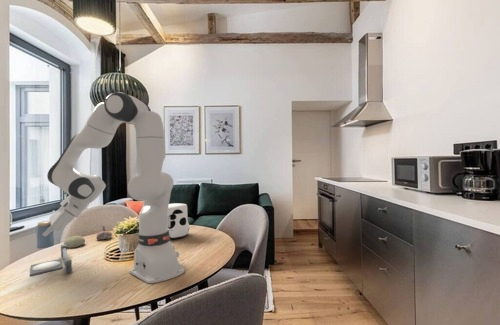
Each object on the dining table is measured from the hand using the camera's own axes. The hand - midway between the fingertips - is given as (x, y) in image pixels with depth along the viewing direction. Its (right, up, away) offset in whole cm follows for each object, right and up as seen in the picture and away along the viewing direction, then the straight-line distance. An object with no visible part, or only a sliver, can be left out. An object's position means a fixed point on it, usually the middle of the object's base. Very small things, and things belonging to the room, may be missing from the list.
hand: (43, 233), depth 103 cm
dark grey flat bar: (+6, -14, +4) cm, 16 cm away
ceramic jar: (0, -5, 0) cm, 5 cm away
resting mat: (+1, -14, +1) cm, 14 cm away
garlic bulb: (+3, -14, +39) cm, 41 cm away
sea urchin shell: (-7, -15, +28) cm, 32 cm away
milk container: (+42, -14, +40) cm, 60 cm away
